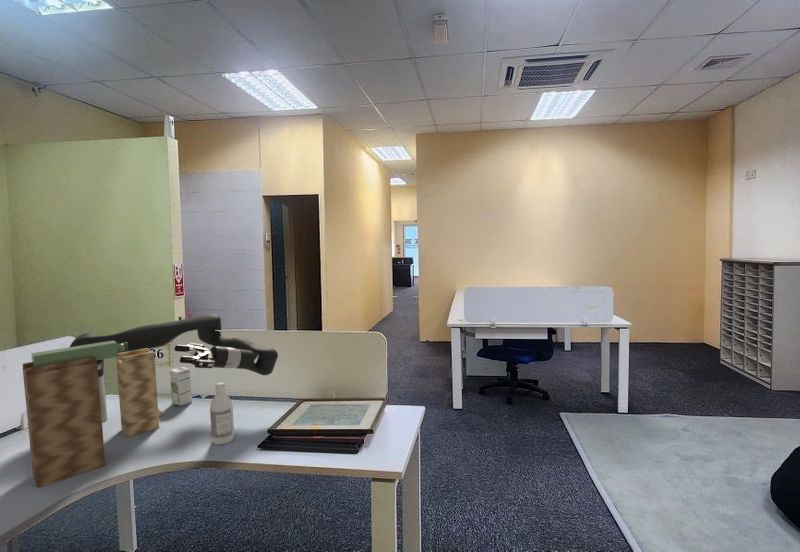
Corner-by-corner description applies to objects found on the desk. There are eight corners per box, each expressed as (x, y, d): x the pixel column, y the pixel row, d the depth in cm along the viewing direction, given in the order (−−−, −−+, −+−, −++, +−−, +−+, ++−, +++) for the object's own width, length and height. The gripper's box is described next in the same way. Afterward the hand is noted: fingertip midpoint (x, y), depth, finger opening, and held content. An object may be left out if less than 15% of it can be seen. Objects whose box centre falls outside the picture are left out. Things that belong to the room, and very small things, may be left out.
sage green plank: (34, 371, 121) (33, 356, 120) (32, 368, 124) (31, 353, 123) (129, 354, 137) (128, 340, 137) (125, 352, 140) (124, 338, 140)
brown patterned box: (37, 487, 121) (25, 370, 117) (32, 474, 127) (22, 362, 124) (105, 465, 132) (96, 357, 129) (97, 454, 139) (89, 351, 136)
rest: (127, 436, 151) (121, 357, 148) (121, 429, 156) (115, 353, 154) (159, 427, 158) (154, 352, 155) (152, 421, 163) (147, 348, 161)
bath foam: (216, 436, 150) (213, 379, 149) (236, 435, 151) (234, 379, 149) (208, 445, 144) (205, 387, 142) (229, 445, 144) (226, 386, 142)
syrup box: (192, 402, 182) (190, 368, 180) (179, 406, 177) (177, 372, 175) (184, 399, 185) (182, 366, 183) (171, 404, 180) (169, 369, 178)
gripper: (222, 339, 162) (176, 334, 152) (234, 357, 152) (186, 352, 141) (215, 357, 163) (169, 353, 152) (227, 376, 153) (178, 373, 142)
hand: (177, 353), depth 147 cm, fingers open, 8 cm apart
